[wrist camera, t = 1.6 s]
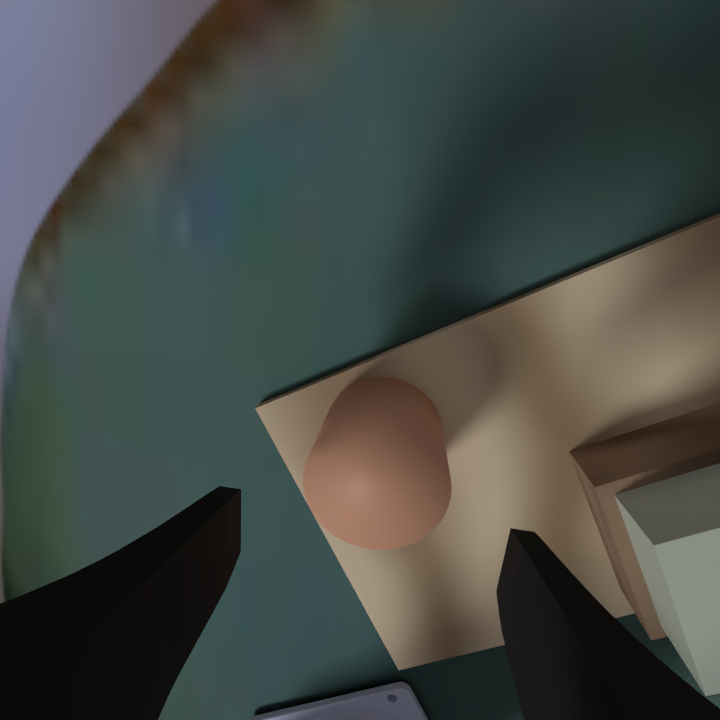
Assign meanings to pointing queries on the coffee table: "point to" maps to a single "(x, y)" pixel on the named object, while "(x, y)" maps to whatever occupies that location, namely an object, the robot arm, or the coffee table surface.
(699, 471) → the tower top
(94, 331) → the coffee table surface
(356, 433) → the cylinder
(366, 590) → the board
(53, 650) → the robot arm
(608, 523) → the tower base
